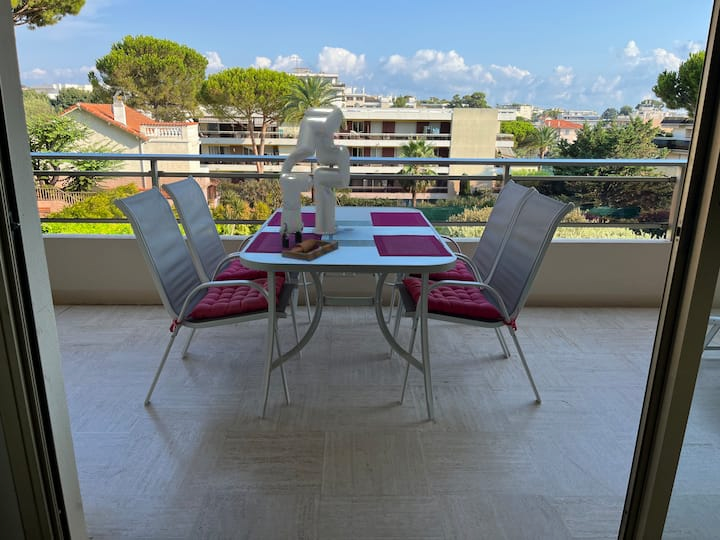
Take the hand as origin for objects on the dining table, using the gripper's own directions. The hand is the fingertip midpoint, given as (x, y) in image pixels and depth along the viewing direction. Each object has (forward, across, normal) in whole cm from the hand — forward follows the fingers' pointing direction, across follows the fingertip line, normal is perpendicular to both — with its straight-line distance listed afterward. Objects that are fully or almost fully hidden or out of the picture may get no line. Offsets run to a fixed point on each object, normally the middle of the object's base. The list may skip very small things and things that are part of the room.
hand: (292, 245), depth 227 cm
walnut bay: (+2, 0, +9) cm, 9 cm away
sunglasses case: (+3, -1, +4) cm, 5 cm away
